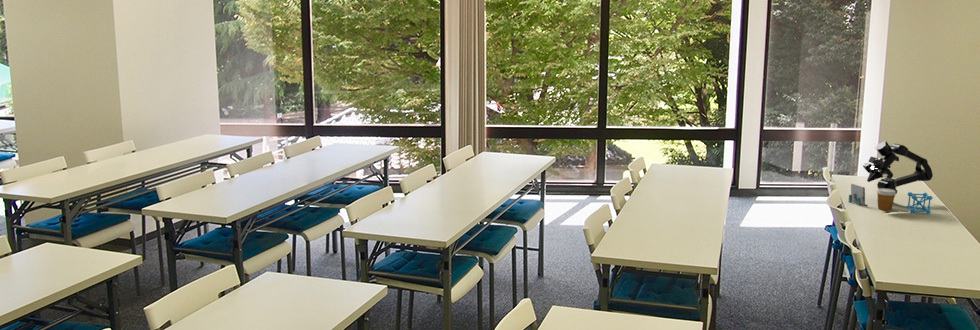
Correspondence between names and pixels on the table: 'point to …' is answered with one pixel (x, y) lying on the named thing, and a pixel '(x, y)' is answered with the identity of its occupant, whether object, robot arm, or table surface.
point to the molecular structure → (919, 202)
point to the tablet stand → (857, 200)
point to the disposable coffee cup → (885, 199)
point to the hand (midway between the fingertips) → (867, 181)
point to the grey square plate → (858, 193)
